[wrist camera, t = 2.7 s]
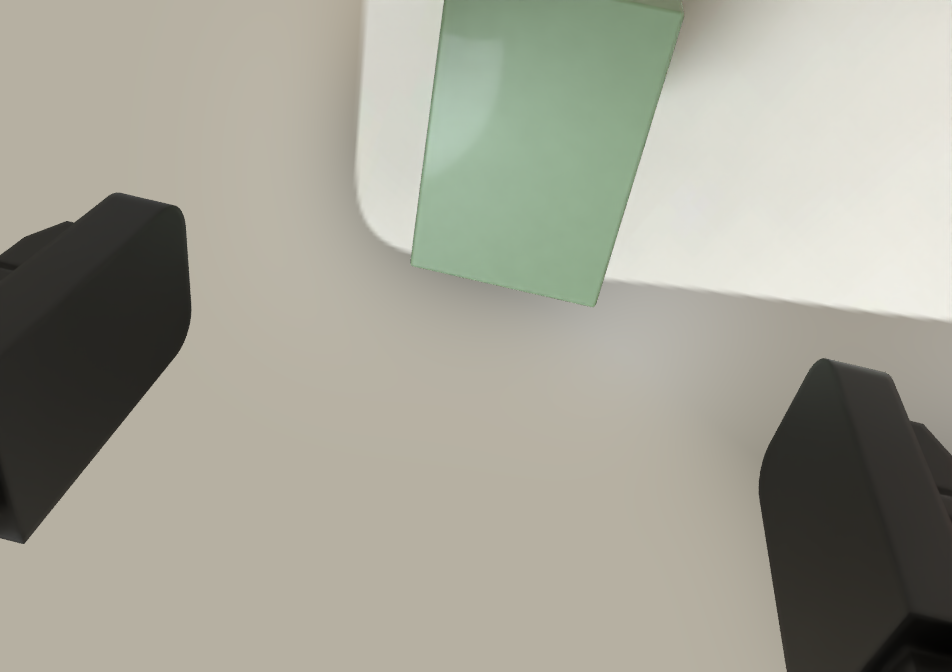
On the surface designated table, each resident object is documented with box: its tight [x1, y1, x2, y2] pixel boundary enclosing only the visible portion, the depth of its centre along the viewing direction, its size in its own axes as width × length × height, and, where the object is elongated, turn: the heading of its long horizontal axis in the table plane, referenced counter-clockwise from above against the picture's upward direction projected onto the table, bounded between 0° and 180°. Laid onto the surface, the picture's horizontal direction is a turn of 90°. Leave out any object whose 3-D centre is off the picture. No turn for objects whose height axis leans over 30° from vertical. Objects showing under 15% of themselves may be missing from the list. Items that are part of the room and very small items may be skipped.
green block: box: [411, 0, 684, 307], centre depth 20 cm, size 4×6×12 cm, turn 171°
